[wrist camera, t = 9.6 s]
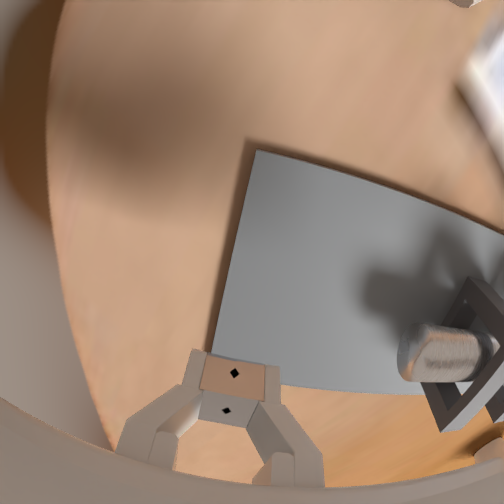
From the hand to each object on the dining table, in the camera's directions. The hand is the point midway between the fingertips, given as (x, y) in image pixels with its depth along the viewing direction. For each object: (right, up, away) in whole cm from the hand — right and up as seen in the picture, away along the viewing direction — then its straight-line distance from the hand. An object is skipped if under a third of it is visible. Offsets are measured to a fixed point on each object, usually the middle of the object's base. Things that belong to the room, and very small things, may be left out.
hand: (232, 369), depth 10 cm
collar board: (+15, -1, +7) cm, 17 cm away
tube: (+19, -3, +6) cm, 20 cm away
